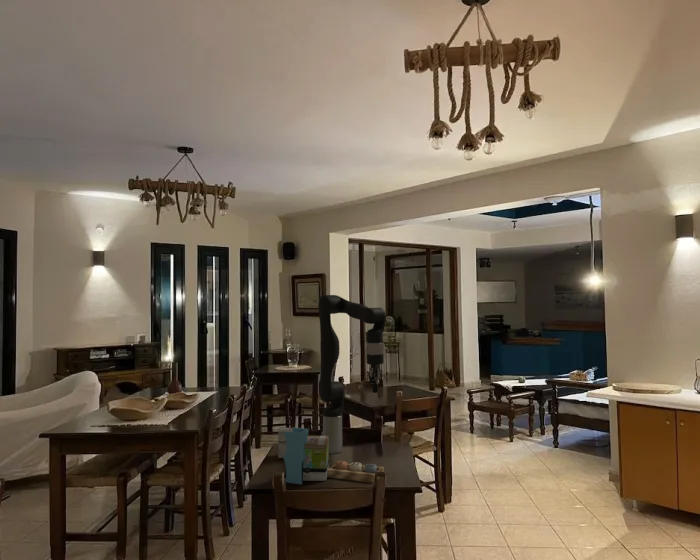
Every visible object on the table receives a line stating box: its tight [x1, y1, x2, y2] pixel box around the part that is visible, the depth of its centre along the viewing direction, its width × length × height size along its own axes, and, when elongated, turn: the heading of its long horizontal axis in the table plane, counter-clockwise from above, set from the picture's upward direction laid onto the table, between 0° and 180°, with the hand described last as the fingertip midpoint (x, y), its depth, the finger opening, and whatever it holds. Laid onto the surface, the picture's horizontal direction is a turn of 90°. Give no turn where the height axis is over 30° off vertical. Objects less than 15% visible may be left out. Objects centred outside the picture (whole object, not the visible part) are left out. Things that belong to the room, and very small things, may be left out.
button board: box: [327, 462, 385, 484], centre depth 221 cm, size 21×11×3 cm, turn 69°
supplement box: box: [277, 427, 293, 459], centre depth 249 cm, size 7×7×13 cm
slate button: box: [364, 463, 377, 473], centre depth 218 cm, size 5×5×4 cm
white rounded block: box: [350, 461, 363, 472], centre depth 221 cm, size 5×5×4 cm
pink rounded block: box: [335, 460, 348, 470], centre depth 223 cm, size 5×5×4 cm
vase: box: [283, 427, 310, 485], centre depth 216 cm, size 8×8×20 cm
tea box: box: [302, 435, 330, 482], centre depth 222 cm, size 15×10×15 cm
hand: (375, 392), depth 234 cm, fingers closed
